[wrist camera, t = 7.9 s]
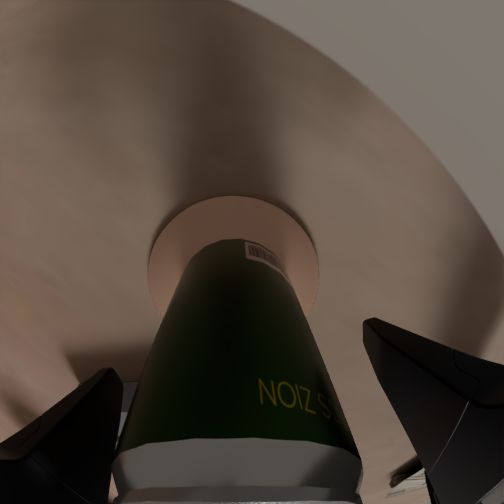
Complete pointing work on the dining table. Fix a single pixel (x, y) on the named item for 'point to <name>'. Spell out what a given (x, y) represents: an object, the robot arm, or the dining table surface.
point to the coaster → (232, 227)
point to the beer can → (235, 396)
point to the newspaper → (407, 483)
